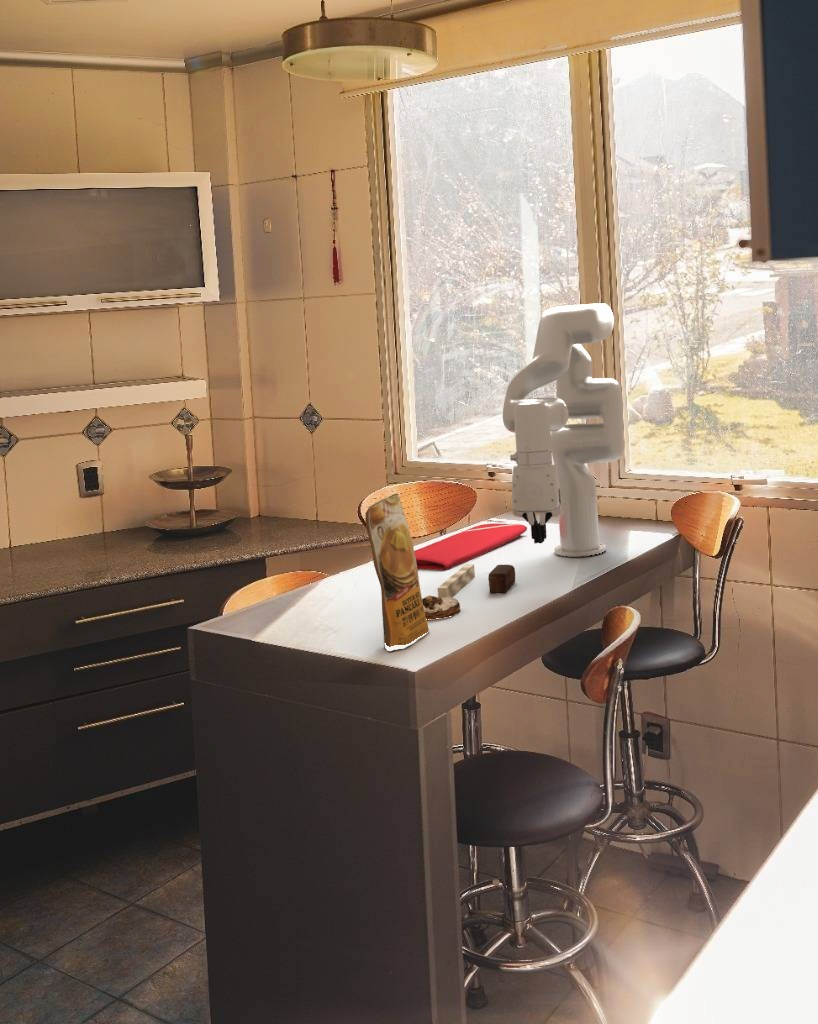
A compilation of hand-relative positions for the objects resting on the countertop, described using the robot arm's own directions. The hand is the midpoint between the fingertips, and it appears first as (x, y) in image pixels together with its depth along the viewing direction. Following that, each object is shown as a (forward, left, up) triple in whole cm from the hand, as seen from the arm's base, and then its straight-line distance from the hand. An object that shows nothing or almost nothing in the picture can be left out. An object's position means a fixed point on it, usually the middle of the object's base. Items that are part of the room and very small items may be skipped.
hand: (539, 542), depth 263 cm
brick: (-1, -9, -11) cm, 14 cm away
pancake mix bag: (+40, -18, -11) cm, 46 cm away
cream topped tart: (+20, -19, -11) cm, 30 cm away
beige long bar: (0, -19, -10) cm, 22 cm away
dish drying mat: (-39, -29, -11) cm, 50 cm away
